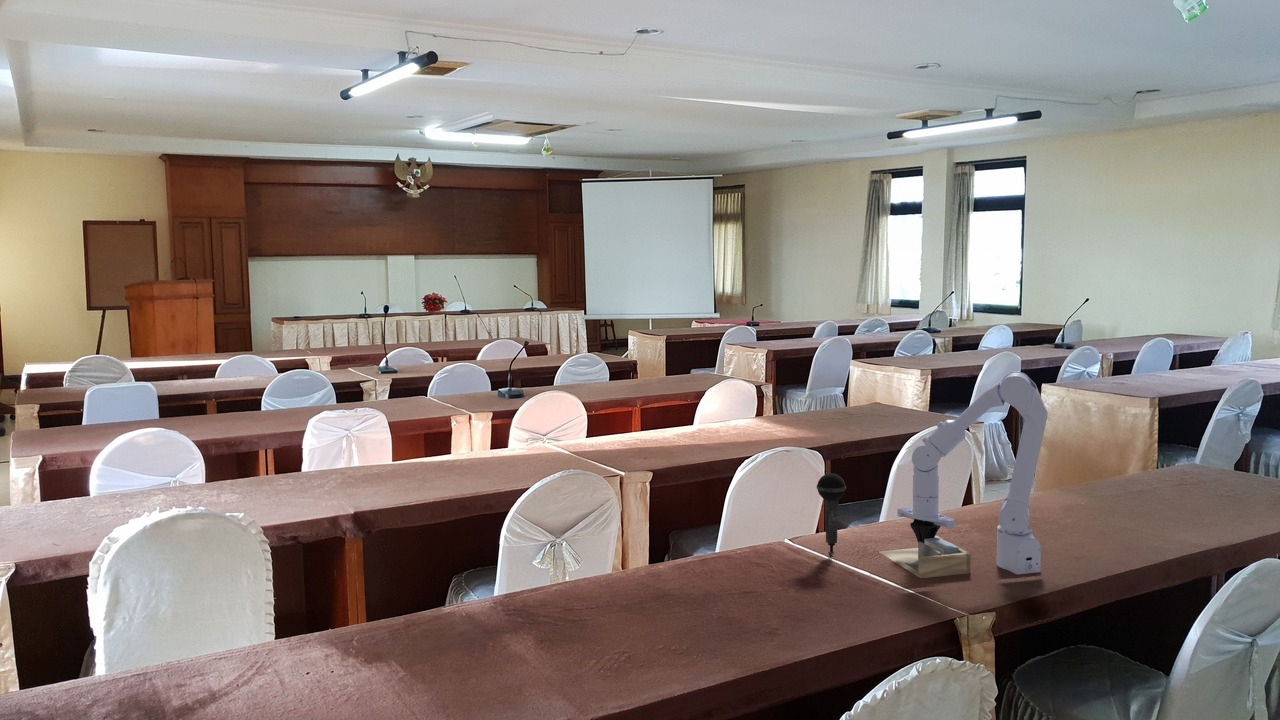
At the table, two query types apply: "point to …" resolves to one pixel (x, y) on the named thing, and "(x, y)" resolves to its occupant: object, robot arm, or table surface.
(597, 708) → the table surface
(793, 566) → the table surface
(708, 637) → the table surface
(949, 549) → the grey-blue block
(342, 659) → the table surface
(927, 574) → the wooden open box
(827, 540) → the microphone
